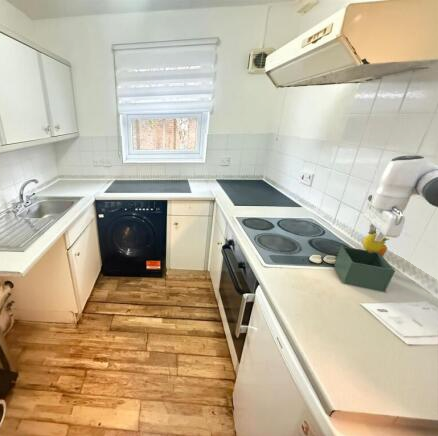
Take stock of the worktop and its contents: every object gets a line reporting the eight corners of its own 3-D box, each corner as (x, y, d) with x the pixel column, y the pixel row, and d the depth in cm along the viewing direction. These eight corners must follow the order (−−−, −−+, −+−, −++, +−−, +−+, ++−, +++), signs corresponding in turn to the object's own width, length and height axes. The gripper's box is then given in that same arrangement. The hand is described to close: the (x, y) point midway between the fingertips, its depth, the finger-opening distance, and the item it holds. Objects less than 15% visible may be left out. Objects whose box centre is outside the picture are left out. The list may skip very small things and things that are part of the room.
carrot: (364, 262, 106) (376, 232, 101) (378, 267, 103) (392, 236, 97) (361, 266, 104) (374, 235, 98) (376, 271, 100) (390, 240, 94)
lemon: (358, 248, 95) (364, 229, 92) (377, 251, 92) (383, 232, 89) (362, 254, 90) (368, 234, 87) (381, 257, 87) (388, 237, 85)
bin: (370, 272, 99) (378, 252, 96) (384, 292, 88) (395, 270, 84) (333, 265, 104) (340, 246, 100) (343, 283, 93) (351, 262, 89)
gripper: (417, 214, 73) (398, 252, 79) (387, 195, 91) (373, 228, 96) (391, 211, 76) (374, 248, 81) (366, 193, 93) (354, 225, 98)
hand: (374, 237), depth 89 cm, fingers closed on lemon, 4 cm apart
